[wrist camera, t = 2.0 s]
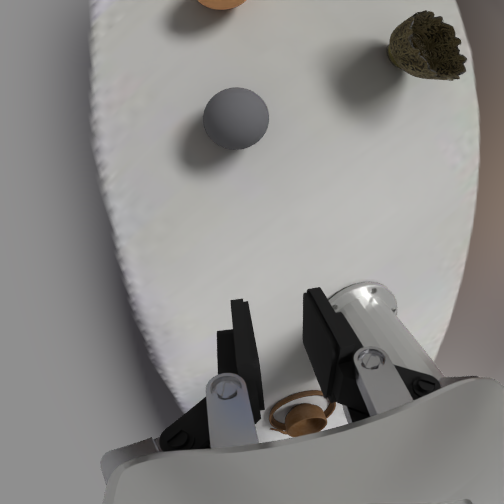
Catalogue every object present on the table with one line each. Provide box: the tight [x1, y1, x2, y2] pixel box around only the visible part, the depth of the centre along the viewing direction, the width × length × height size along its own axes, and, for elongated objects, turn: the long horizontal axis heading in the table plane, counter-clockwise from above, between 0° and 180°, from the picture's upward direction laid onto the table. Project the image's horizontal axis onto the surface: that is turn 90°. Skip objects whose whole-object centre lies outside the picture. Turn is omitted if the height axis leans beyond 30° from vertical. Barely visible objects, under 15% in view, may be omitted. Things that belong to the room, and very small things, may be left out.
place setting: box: [269, 390, 336, 437], centre depth 42 cm, size 18×20×6 cm
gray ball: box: [203, 88, 269, 150], centre depth 21 cm, size 6×6×6 cm
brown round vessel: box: [387, 10, 467, 81], centre depth 18 cm, size 8×7×8 cm
